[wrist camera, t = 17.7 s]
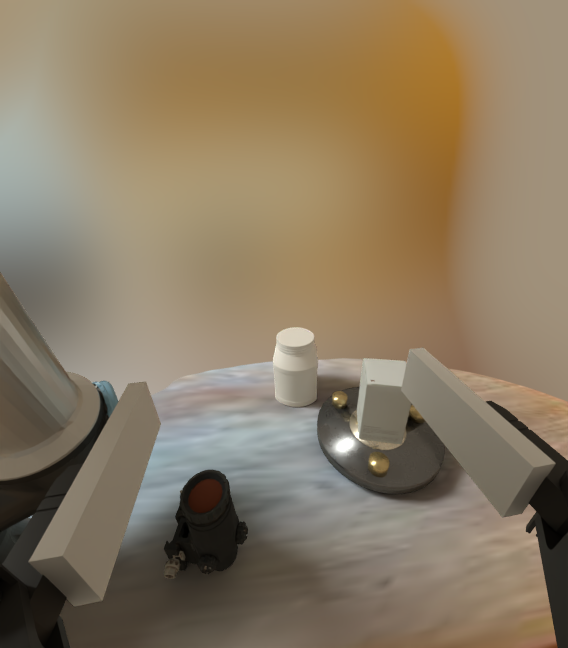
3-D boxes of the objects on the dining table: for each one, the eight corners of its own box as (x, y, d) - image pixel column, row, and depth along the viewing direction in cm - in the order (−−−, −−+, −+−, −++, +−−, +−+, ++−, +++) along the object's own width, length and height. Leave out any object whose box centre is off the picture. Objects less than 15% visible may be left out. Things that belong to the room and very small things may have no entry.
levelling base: (306, 479, 45) (306, 457, 42) (326, 391, 63) (326, 373, 61) (454, 517, 39) (464, 495, 36) (427, 408, 57) (433, 388, 55)
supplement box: (402, 445, 45) (416, 388, 40) (357, 439, 47) (365, 383, 41) (395, 413, 52) (406, 360, 46) (356, 408, 53) (362, 356, 47)
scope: (168, 456, 34) (245, 458, 33) (190, 516, 40) (255, 519, 40) (132, 529, 27) (230, 534, 26) (166, 588, 33) (245, 593, 33)
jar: (317, 408, 59) (318, 351, 52) (274, 406, 60) (270, 350, 53) (315, 375, 69) (316, 323, 62) (278, 374, 70) (275, 323, 63)
